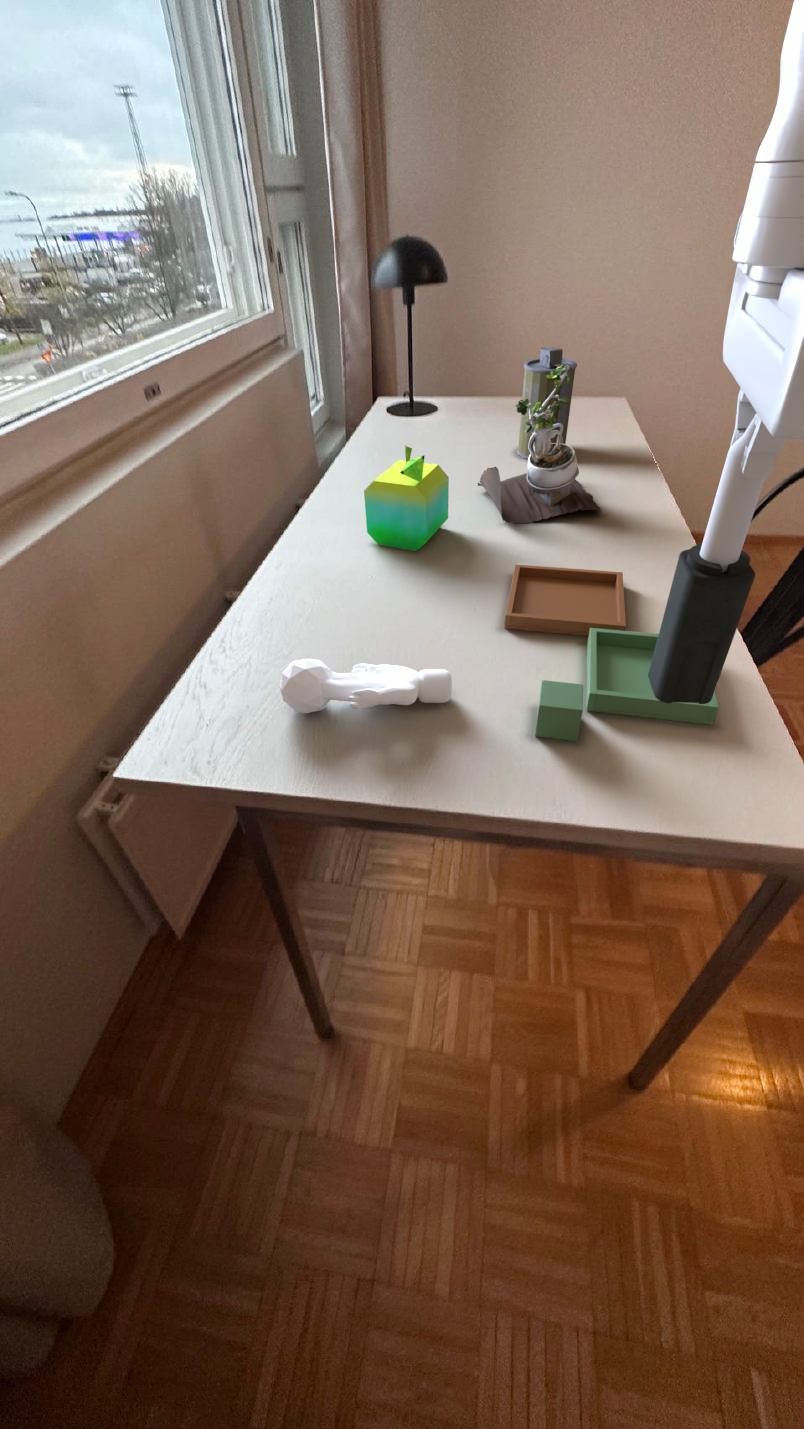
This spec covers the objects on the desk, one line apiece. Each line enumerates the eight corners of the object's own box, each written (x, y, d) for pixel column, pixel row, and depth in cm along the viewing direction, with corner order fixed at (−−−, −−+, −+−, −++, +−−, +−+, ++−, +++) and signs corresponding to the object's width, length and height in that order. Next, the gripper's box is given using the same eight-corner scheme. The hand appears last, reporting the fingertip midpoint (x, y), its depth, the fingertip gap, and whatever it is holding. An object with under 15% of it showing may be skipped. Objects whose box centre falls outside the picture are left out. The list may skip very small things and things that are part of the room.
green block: (577, 715, 72) (583, 684, 69) (576, 741, 69) (582, 710, 66) (537, 710, 73) (541, 679, 70) (534, 736, 70) (539, 705, 67)
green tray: (697, 654, 80) (703, 637, 78) (712, 725, 70) (718, 707, 68) (587, 644, 83) (590, 627, 81) (586, 710, 73) (589, 693, 71)
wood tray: (619, 584, 94) (622, 572, 92) (623, 639, 83) (626, 626, 82) (514, 576, 97) (515, 564, 95) (504, 628, 86) (505, 615, 85)
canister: (507, 450, 140) (515, 347, 126) (547, 441, 143) (558, 341, 130) (535, 465, 132) (546, 357, 119) (576, 456, 135) (591, 350, 122)
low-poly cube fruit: (368, 542, 108) (361, 452, 98) (392, 519, 114) (387, 433, 104) (426, 552, 104) (425, 460, 94) (448, 528, 111) (449, 439, 101)
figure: (273, 730, 69) (455, 730, 70) (270, 673, 66) (458, 674, 68) (286, 695, 79) (444, 695, 80) (283, 645, 77) (446, 646, 78)
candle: (700, 671, 61) (792, 388, 45) (714, 704, 57) (821, 409, 41) (645, 669, 62) (717, 390, 45) (656, 703, 58) (739, 411, 41)
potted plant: (607, 527, 114) (608, 393, 94) (507, 562, 115) (487, 436, 96) (567, 470, 126) (560, 341, 107) (477, 502, 128) (454, 380, 108)
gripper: (958, 238, 29) (836, 527, 38) (833, 211, 44) (767, 423, 53) (806, 243, 30) (722, 522, 39) (735, 215, 45) (686, 421, 54)
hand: (747, 464), depth 46 cm, fingers closed on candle, 3 cm apart
